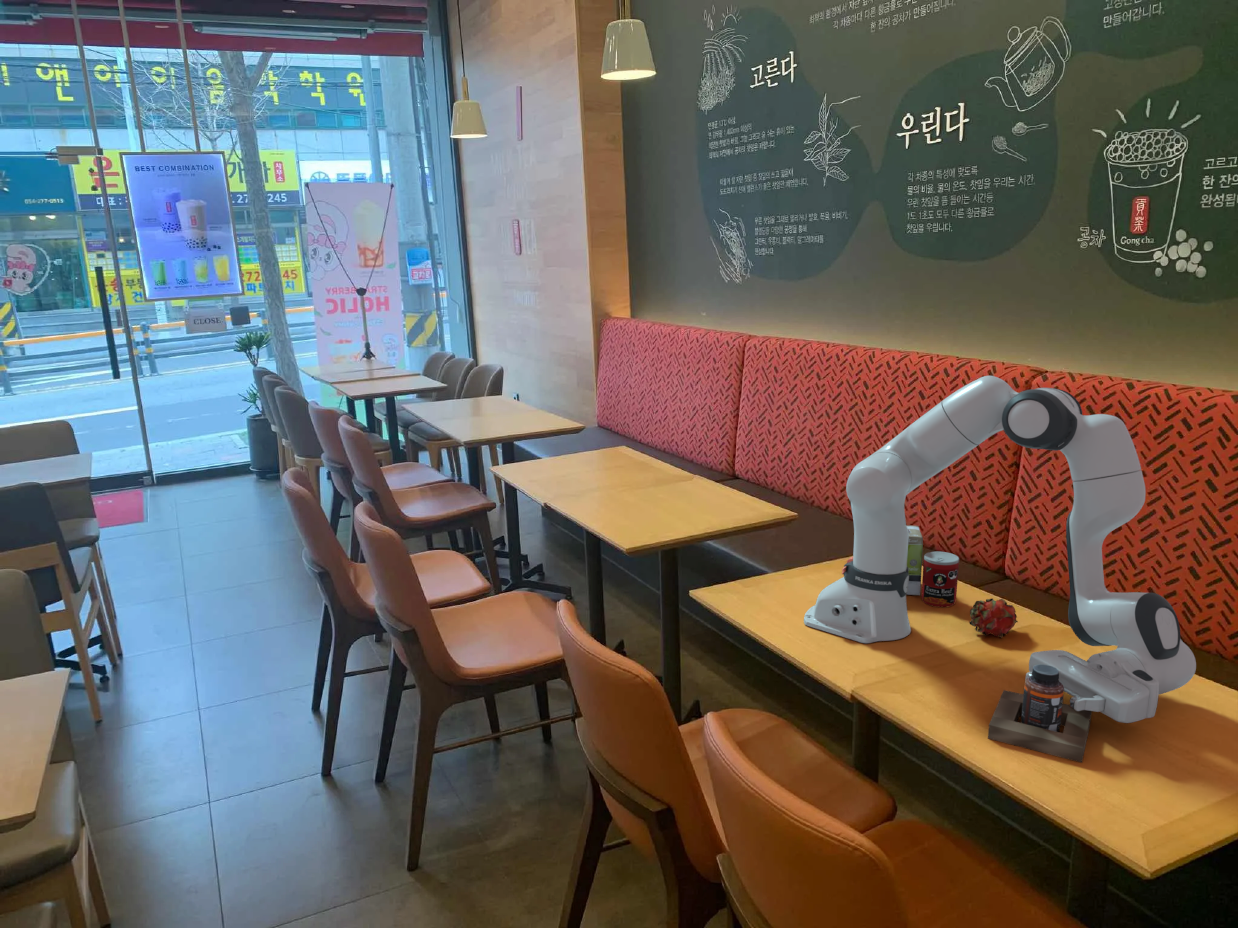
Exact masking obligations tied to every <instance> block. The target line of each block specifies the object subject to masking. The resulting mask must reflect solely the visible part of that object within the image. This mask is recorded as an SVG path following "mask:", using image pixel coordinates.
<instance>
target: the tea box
mask: <svg viewBox="0 0 1238 928" xmlns="http://www.w3.org/2000/svg"><path fill="white" fill-rule="evenodd" d="M906 527H907V529H908V532H909V539H908V555H907V567H908V569H909V574H908V576H909V584H908V591H907V594H906V595H912V596H921V593H922V573H923V548H924V547H923V545H924V539H923V538H924V537H923V535H922V533H921V530H920V527H919V525H907V524H906Z"/></svg>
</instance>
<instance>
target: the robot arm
mask: <svg viewBox="0 0 1238 928" xmlns="http://www.w3.org/2000/svg"><path fill="white" fill-rule="evenodd" d="M1002 431H1004V433H1005V435H1006V436H1007V437H1008V439H1010V441H1012V442H1013V443H1015V444H1017V445H1018V446H1021V447H1023V448H1027V449H1034V450H1046V451H1048V450H1049V451H1057V452H1059V451H1060V452H1061V453H1062V454H1063V455H1064V456H1065V458H1066V461H1067V464H1068V467H1069V471H1070V476H1071V480H1072V481H1071V482H1072V485H1073V486H1072V487H1073V503H1072V509H1071V511H1070V512H1069V513H1068V515H1067V519H1066V525H1065V533H1066V534H1065V538H1066V539H1065V541H1066V555H1067V565H1068V566H1067V567H1068V577H1069V578H1068V581H1069V602H1068V610H1067V616H1068V617H1067V618H1068V623H1069V626H1070V628H1071V630H1072V632H1073V633H1074V634H1075V636H1076V637H1077V638H1078V639H1079V640H1080V641H1081V642H1082V643H1084V644H1086V645H1087V646H1091V647H1104V646H1105V647H1110V646H1114V647H1115V646H1116V649H1112V650H1107V651H1103V652H1099V653H1094V654H1092V655H1091V656H1089V657H1088V658H1087V660H1085V659H1083V658H1081V657H1080V656H1077V655H1075V654H1073V653H1071V652H1070V651H1067V650H1062V649H1050V650H1042V651H1034V652H1032V653H1031V654H1030V657H1029V659H1028V660H1029V661H1028V671H1029V672H1028V671H1027V672H1026V673H1025V681H1026V679H1027V678H1028V677H1030V676H1032V671H1033V666H1035V665H1049V666H1052V667H1055V668H1056V669H1058V671H1059V679H1058V680H1059V681H1060V682H1061V683H1062V684H1063V686H1064V693H1066V694H1068V695H1069V696H1071V697H1070V699H1069V703H1068V705H1069V706H1070V707H1071V708H1073V709H1075V710H1076V711H1081V710H1089V711H1092V712H1097V713H1099V712H1100V713H1102V714H1103V715H1106V716H1107V717H1109V718H1111V719H1112V720H1114V721H1116V722H1118V723H1123V724H1131V723H1135V722H1139V721H1142V720H1144V719H1152V718H1154V717H1155V715H1156V712H1157V707H1158V703H1159V701H1158V700H1159V695H1163V694H1165V693H1169V692H1173V691H1175V690H1178V689H1179V688H1182V687H1184V686H1185V685H1187V684H1188V683H1189V682H1190V681H1191V679H1193V677H1194V675H1195V673H1196V669H1197V662H1196V657H1195V655H1194V652H1193V651H1192V650H1191V649H1190V647H1189V646H1188V645H1187V644H1186V643H1185V642H1183V640H1182V639H1181V627H1180V622H1179V619H1178V615H1177V613H1176V611H1175V609H1174V607H1173V606H1172V605H1171V603H1170V602H1169V601H1168V600H1167V599H1166V598H1165V597H1164V596H1162V595H1161V594H1158V593H1155V592H1136V591H1135V592H1134V591H1133V592H1132V591H1130V592H1129V591H1128V592H1113V591H1109V590H1108V589H1107V588H1106V585H1105V578H1104V566H1103V565H1104V563H1103V544H1104V541H1105V539H1106V537H1107V536H1108V535H1109V534H1110V533H1112V531H1114V530H1115V529H1118V528H1119V527H1122V526H1123V525H1125V524H1127V523H1128V522H1130V521H1131V520H1132V519H1134V518H1135V516H1137V515H1138V513H1140V511H1141V510H1142V508H1143V506H1144V504H1145V502H1146V484H1145V479H1144V475H1143V471H1142V467H1141V462H1140V458H1139V455H1138V453H1137V450H1136V447H1135V444H1134V441H1133V439H1132V437H1131V434H1130V432H1129V430H1128V428H1127V426H1126V424H1125V423H1124V421H1123V420H1122V419H1120V418H1119V417H1117V416H1115V415H1111V414H1103V413H1097V414H1091V415H1090V414H1089V415H1085V414H1084V415H1083V410H1082V407H1081V405H1080V402H1079V401H1078V399H1077V398H1076V397H1075V396H1073V395H1072V394H1071V393H1070V392H1068V391H1066V390H1063V389H1060V388H1059V389H1058V388H1052V387H1038V388H1034V389H1033V388H1031V389H1026V390H1022V391H1021V392H1017V391H1015V390H1014V389H1013V388H1012V386H1011V385H1010V384H1008V382H1006V381H1005V380H1004V379H1002V378H1000V377H997V376H994V375H985V376H981V377H979V378H977V379H976V380H973V381H971V382H969V383H967V384H965V385H964V386H962V387H960V388H959V389H957V390H955V392H953V393H951V394H950V395H948V396H947V397H945V398H944V399H943V400H941V401H940V402H939V403H937V404H936V405H935V406H934V407H932V408H931V409H930V410H928V411H927V412H925V413H924V414H923V415H921V416H920V417H919V418H917V419H916V420H915V421H914V422H913V423H911V424H909V425H908V426H907V427H906V428H905V429H904V430H902V431H901V432H900V433H898V434H897V435H896V436H895V437H893V438H892V439H891V440H889V441H888V442H887V443H885V444H884V445H883V446H881V448H879V449H878V450H875V452H873V453H872V454H871V455H869V456H868V457H866V458H864V459H863V460H862V461H860V462H858V463H857V464H856V465H855V466H854V467H853V469H852V471H851V472H850V473H849V476H848V478H847V482H846V485H845V486H846V488H845V489H846V490H845V491H846V495H847V498H848V499H849V502H850V507H851V513H852V519H853V533H854V535H853V553H852V554H853V555H852V556H851V557H849V558H848V559H847V560H846V562H845V564H844V565H843V567H842V569H841V575H843V577H841V578H839V579H837V580H835V581H833V582H832V583H831V584H829V585H827V586H826V587H824V588H823V589H822V590H821V591H820V592H819V594H818V596H817V598H816V603H815V604H814V605H813V606H811V607H809V609H807V610H806V612H805V614H804V617H803V623H804V625H805V626H808V627H810V628H813V629H816V630H820V631H823V632H827V633H829V634H833V635H836V636H839V637H841V638H842V637H843V638H846V639H849V640H852V641H854V642H855V641H856V642H858V643H862V644H871V643H876V642H882V641H883V642H884V641H895V640H901V639H903V638H905V637H907V636H908V635H910V634H911V632H912V628H911V625H910V621H909V616H908V615H909V614H908V606H907V605H908V604H907V595H908V594H907V591H908V584H909V576H908V574H909V569H908V567H907V555H908V539H909V532H908V529H907V527H906V525H907V522H906V514H905V502H906V501H905V500H906V497H907V495H909V494H910V493H911V492H912V491H914V490H915V489H916V488H918V487H919V486H921V485H922V484H924V483H925V482H927V481H928V480H929V479H931V478H933V477H934V476H936V475H937V474H939V473H940V472H941V471H944V470H945V469H946V468H948V467H949V466H951V465H953V464H954V463H955V462H957V461H958V460H959V459H960V458H962V457H964V456H965V455H966V454H967V453H969V452H971V451H973V449H975V448H977V446H979V445H980V444H982V443H983V442H985V441H986V440H987V439H989V438H990V437H992V436H993V435H996V434H997V433H999V432H1002ZM1025 681H1024V682H1025Z"/></svg>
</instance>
